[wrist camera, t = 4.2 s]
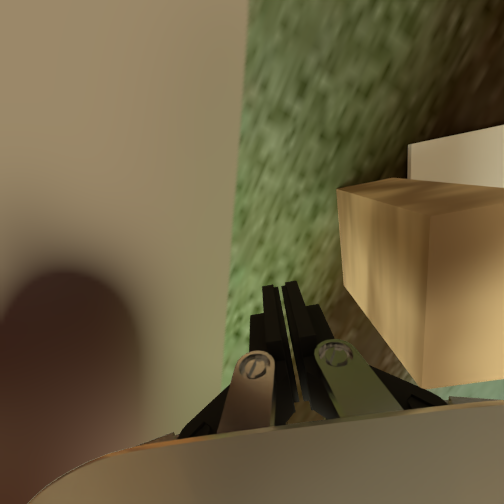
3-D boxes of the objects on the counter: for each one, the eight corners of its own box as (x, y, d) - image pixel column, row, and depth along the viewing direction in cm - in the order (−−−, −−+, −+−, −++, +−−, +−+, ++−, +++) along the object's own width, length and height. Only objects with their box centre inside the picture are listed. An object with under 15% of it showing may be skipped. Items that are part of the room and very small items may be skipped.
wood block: (392, 177, 17) (557, 192, 8) (392, 276, 20) (516, 376, 11) (336, 188, 18) (430, 216, 8) (343, 285, 20) (421, 389, 11)
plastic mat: (582, 108, 16) (590, 106, 15) (544, 273, 20) (549, 275, 19) (407, 144, 16) (411, 144, 16) (405, 296, 20) (408, 298, 20)
